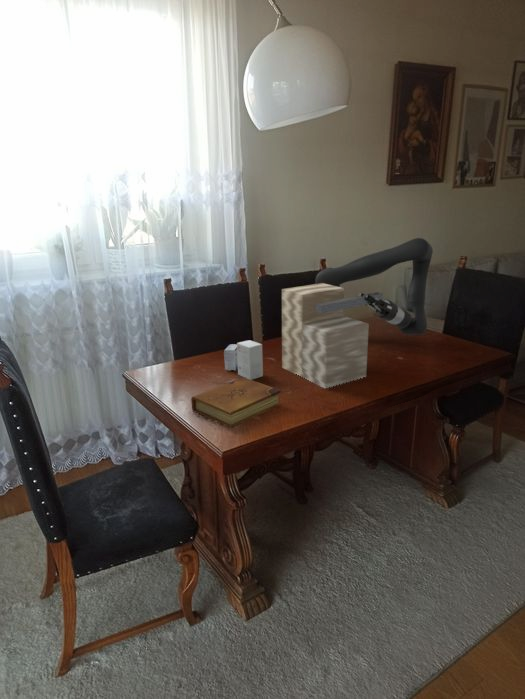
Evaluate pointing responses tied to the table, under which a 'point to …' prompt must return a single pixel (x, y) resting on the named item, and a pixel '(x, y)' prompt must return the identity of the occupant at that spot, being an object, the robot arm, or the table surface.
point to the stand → (321, 337)
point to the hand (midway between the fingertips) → (363, 296)
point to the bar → (345, 303)
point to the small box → (250, 359)
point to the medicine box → (231, 357)
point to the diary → (236, 401)
